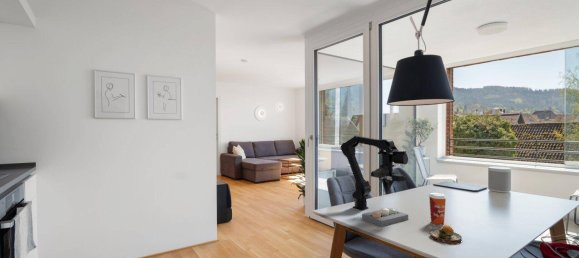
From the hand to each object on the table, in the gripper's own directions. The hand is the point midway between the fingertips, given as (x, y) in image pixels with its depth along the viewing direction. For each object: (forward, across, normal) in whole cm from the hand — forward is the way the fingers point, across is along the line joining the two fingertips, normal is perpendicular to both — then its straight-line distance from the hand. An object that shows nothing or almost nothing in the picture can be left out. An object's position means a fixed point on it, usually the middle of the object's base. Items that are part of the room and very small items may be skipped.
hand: (387, 191), depth 152 cm
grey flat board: (+12, +5, -8) cm, 15 cm away
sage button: (+11, +5, -1) cm, 13 cm away
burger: (+12, +35, -5) cm, 38 cm away
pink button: (+12, +5, -13) cm, 18 cm away
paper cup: (+12, +22, +10) cm, 27 cm away
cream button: (+10, +5, -7) cm, 14 cm away
